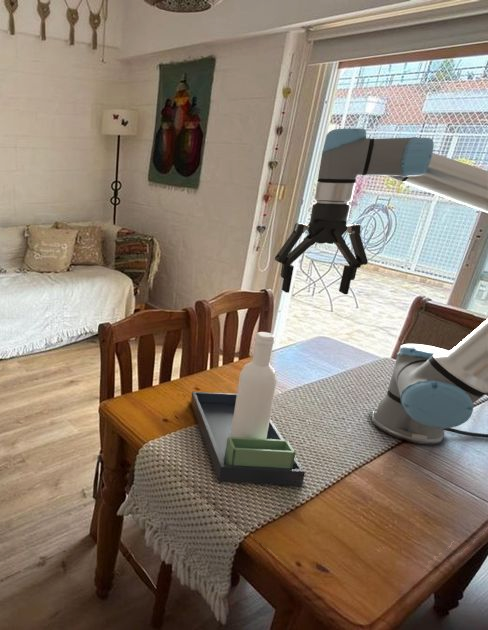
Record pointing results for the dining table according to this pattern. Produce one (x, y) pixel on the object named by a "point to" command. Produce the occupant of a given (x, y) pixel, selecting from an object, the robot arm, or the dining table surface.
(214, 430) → the tray
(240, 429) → the bottle
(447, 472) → the dining table surface
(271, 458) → the green open box
